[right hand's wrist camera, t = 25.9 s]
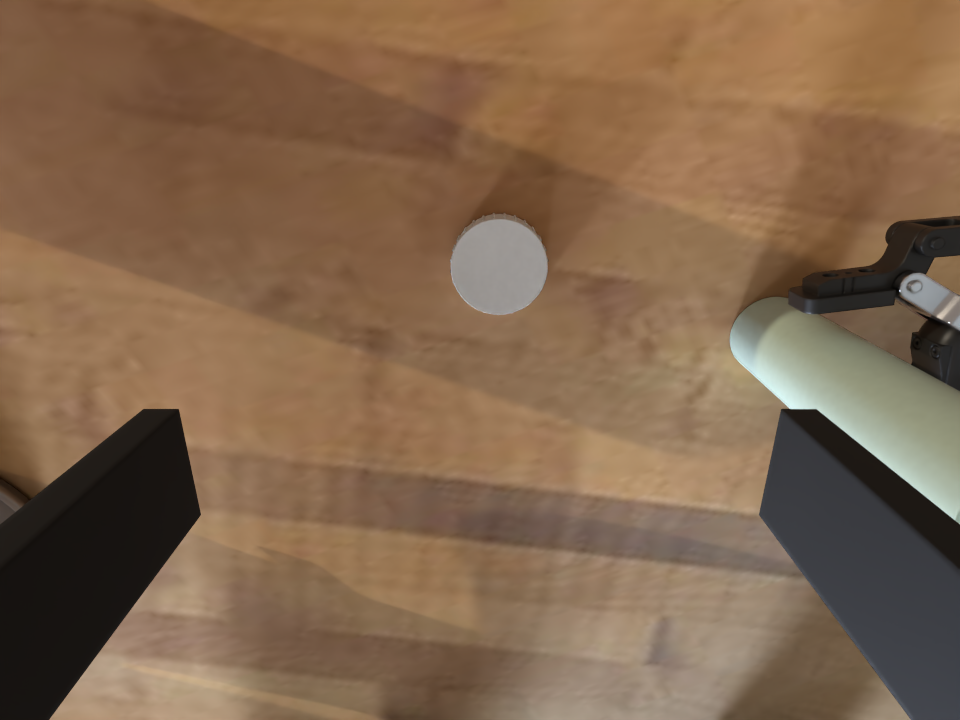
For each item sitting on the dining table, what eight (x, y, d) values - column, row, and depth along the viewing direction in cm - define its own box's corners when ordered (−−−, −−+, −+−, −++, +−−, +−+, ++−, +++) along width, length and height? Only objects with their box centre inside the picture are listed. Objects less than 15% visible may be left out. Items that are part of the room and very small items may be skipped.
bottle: (730, 376, 35) (991, 638, 17) (727, 304, 33) (1012, 508, 15) (809, 363, 35) (1163, 617, 16) (810, 289, 33) (1204, 481, 15)
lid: (535, 202, 32) (538, 206, 30) (553, 294, 33) (557, 304, 31) (441, 224, 32) (438, 230, 30) (464, 314, 34) (462, 325, 32)
